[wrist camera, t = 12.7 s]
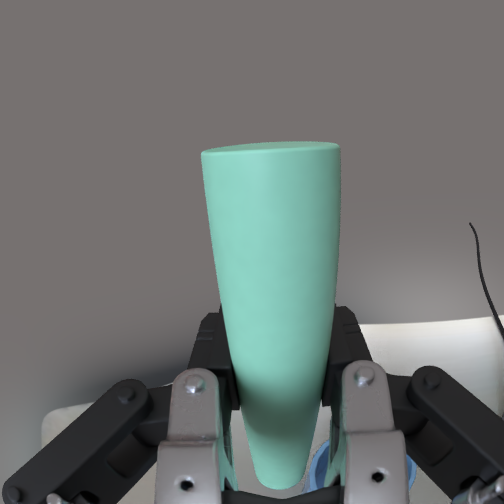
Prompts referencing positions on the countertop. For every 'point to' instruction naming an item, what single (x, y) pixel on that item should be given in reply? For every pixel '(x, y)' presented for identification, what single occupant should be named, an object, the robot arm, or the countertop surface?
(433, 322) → the countertop surface
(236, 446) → the countertop surface
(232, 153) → the mint green tapered cylinder
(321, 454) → the cup
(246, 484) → the countertop surface
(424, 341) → the countertop surface
